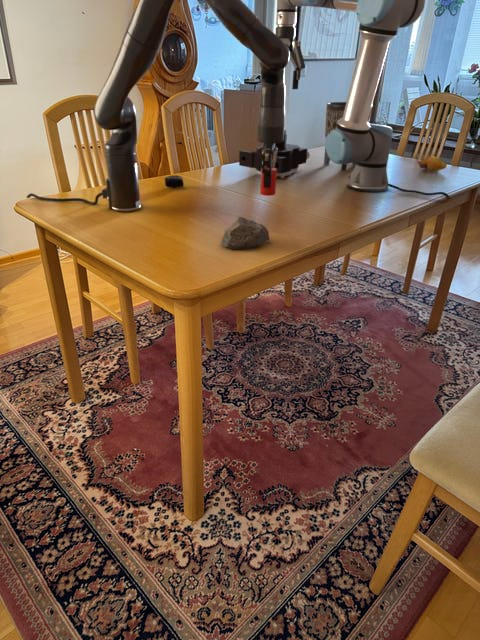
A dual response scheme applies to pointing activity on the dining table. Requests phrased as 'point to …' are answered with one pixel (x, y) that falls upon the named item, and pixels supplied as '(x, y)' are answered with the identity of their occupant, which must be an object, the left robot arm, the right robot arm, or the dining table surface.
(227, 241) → the rock
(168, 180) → the tape measure
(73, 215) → the dining table surface
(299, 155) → the mechanical component
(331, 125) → the planter
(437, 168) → the toy
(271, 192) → the canister
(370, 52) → the right robot arm
